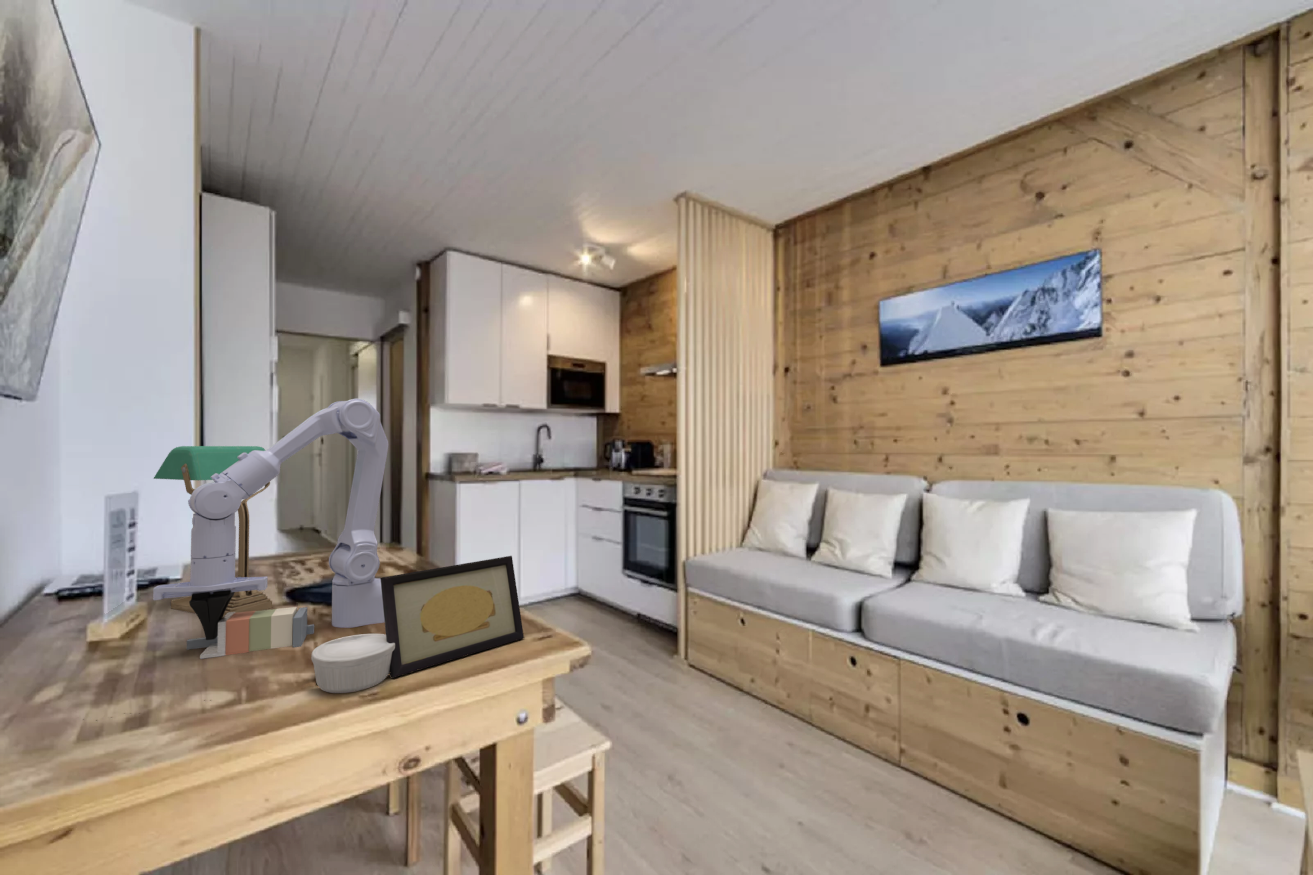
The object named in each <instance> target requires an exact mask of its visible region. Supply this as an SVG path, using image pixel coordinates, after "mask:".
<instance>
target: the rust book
mask: <svg viewBox="0 0 1313 875" xmlns="http://www.w3.org/2000/svg"><path fill="white" fill-rule="evenodd" d="M254 613H255V611H248V612H238V613H234V614H233V615H232V616H231V617H230V618H229V619H228V620H227V621H226V655H225V656H229V655H237V654H245V653H246V654H247V653H249V618H250V617H251V616H252V615H253V614H254Z"/></svg>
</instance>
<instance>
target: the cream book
mask: <svg viewBox="0 0 1313 875" xmlns="http://www.w3.org/2000/svg"><path fill="white" fill-rule="evenodd" d="M275 609H276V610H275V612H274V613H273V614H272V616H271V650H272V649H278V648H279V649H280V648H287V647H293V618H294V616H295V614H296V613H297V611H298V606H291V607H290V606H289V607H281V608H275Z"/></svg>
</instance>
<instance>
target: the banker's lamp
mask: <svg viewBox="0 0 1313 875" xmlns="http://www.w3.org/2000/svg"><path fill="white" fill-rule="evenodd" d="M253 450H258V451H266V450H267V449H265V448H264V447H262V446H259V445H257V446H256V445H254V446H253V445H247V446H246V445H232V446H231V445H225V446H224V445H216V446H215V445H212V446H211V445H198V446H197V445H194V446H193V445H192V446H191V445H182V446H176V447H174V448H172V449H171V450H170V452H168V454H167V456H166V457H165V458H164V460H163V462H162V463H161V465H160V467H159V469H158V470H157V472H156V474H155V475H154V476H153V478H152V479H153V480H154V479H156V480H175V481H176V480H177V481H183V482H184V486H185V490H186V493H187V494H189V495H190V496H191V495H192V493H193V491H194V490H195V489H196V488H193V485H192V481H213V479H212V478H211V476H212V475H214V474H215V473H217V474H218V475H219V474H220V473H222V472H223V471H225V470H226V469H227V468H229V467H230V466H232V465H233V464H234V463H236V462H237V461H239V459H238V458H237V457H238V456H239V455H240V454H242V453H247V454H249V453H250V452H251V451H253ZM270 485H271V481H270V482H268V483H267V484H266V485H265V486H263V487H262V488H261V489H259V490H258V491H257V492H255V493H254V494H253V495H251V496H250V497H249V498H247V499H242V500H241V505H240V507H239V509H238V510H237V514H238V550H237V551H238V556H237V558H238V559H237V560H238V561H237V563H238V564H237V577H250V575H249V574H250V573H249V571H250V570H249V568H250V567H249V566H250V512H249V507H248V501H249V500H250V499H252V498H253V497H255V496H257V495H258V494H260V493H262V492H265V490H266V489H268V487H269V486H270ZM191 598H192V596H184V597H179V598H176V599H171V600H170V609H171V610H176V611H181V612H186V613H187V612H188V613H194V614H196V613H195V611H194V610H193V609H192V608H191V606H190V604H189V601H190V600H191ZM272 608H273V600H271V598H270V597H268V595H266V593H264V591H263V592H262V591H258V590H250V591H239V592H235V593H234V595H233V597H232V599H231V600H230V602H229V604H228V606H227V608H226V610H225V613H224V615H223V617H224V616H225V615H226V614H227V613H229V612H235V613H238V612H248V611H262V610H270V609H272ZM223 617H222V618H223Z"/></svg>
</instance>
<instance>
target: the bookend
mask: <svg viewBox="0 0 1313 875" xmlns="http://www.w3.org/2000/svg"><path fill="white" fill-rule="evenodd" d="M234 613H235V612H229V613H227V614H226V615H225V616H224V617H223V618H222V619H221V620H220V621H219V622H218V643H211V644H210V645H209V646H208V647H205V648H206V649H204V650H203V652H202V653H201V654H200V655H199V659H201V660H203V659H210V658H216V657H217V658H218V657H224V656H227V655H226V621H227V620H228V619H229V618H230V617H231V616H232V615H233V614H234Z"/></svg>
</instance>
